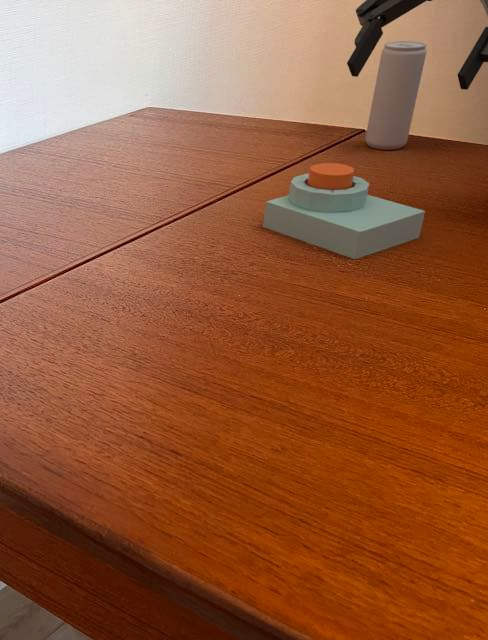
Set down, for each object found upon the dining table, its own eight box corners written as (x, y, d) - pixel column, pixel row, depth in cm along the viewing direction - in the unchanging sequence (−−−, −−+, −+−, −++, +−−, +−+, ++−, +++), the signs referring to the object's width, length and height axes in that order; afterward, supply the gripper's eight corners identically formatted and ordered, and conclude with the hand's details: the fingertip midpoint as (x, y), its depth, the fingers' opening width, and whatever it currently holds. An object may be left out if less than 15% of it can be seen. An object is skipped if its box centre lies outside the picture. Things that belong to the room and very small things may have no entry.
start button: (360, 187, 83) (364, 169, 82) (331, 195, 81) (334, 177, 80) (326, 178, 86) (329, 160, 85) (298, 185, 84) (300, 168, 83)
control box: (419, 238, 82) (430, 192, 79) (354, 260, 78) (364, 212, 76) (324, 208, 90) (331, 166, 88) (262, 227, 87) (268, 183, 84)
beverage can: (392, 153, 106) (414, 49, 99) (356, 146, 109) (375, 45, 103) (413, 145, 108) (436, 43, 102) (377, 138, 111) (397, 39, 105)
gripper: (611, -50, 99) (517, 108, 99) (398, -52, 116) (319, 82, 116) (609, -100, 94) (510, 67, 94) (386, -95, 111) (303, 47, 111)
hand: (404, 76), depth 105 cm, fingers open, 13 cm apart
